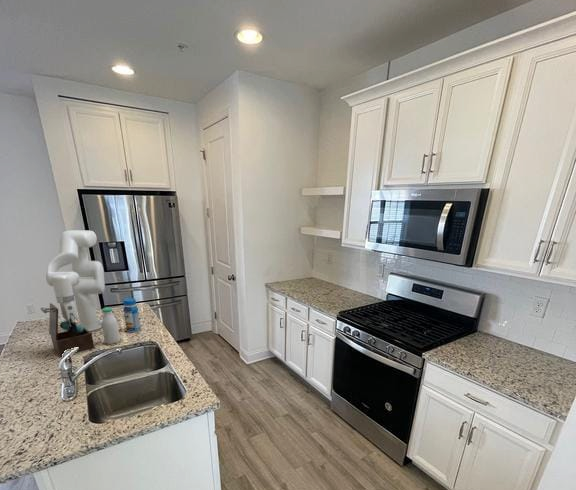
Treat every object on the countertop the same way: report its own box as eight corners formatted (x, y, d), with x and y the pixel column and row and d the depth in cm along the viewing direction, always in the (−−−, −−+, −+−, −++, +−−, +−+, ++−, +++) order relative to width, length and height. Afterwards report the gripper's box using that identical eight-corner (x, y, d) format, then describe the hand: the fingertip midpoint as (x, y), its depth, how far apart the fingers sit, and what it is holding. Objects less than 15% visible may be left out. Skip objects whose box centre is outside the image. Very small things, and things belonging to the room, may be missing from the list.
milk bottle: (122, 341, 178) (117, 308, 171) (108, 345, 172) (101, 311, 166) (117, 337, 183) (111, 305, 176) (103, 341, 177) (96, 308, 171)
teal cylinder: (80, 333, 169) (83, 326, 170) (82, 334, 166) (85, 327, 167) (57, 327, 160) (60, 320, 161) (60, 328, 158) (63, 320, 159)
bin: (86, 341, 177) (83, 327, 174) (94, 348, 169) (91, 333, 166) (54, 349, 166) (50, 334, 163) (60, 357, 158) (56, 341, 155)
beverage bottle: (142, 330, 194) (138, 300, 187) (127, 333, 190) (122, 302, 183) (139, 326, 201) (135, 296, 194) (125, 328, 196) (120, 298, 189)
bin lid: (51, 303, 160) (38, 303, 156) (58, 308, 152) (45, 308, 148) (50, 333, 163) (38, 334, 159) (57, 340, 155) (44, 341, 151)
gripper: (79, 300, 156) (86, 334, 162) (69, 294, 166) (76, 326, 173) (61, 303, 151) (69, 338, 157) (52, 297, 161) (60, 329, 167)
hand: (72, 331), depth 165 cm, fingers closed on teal cylinder, 4 cm apart
